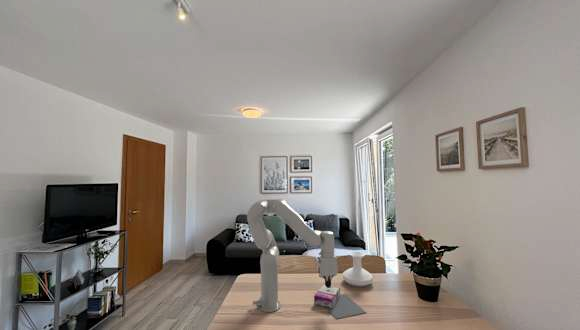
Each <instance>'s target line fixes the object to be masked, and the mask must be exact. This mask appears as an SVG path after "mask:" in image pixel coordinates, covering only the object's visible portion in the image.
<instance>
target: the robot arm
mask: <svg viewBox="0 0 580 330" xmlns="http://www.w3.org/2000/svg"><path fill="white" fill-rule="evenodd" d="M265 214H275V215H276V216H277V217H278V218H279V219H280V220H282V222H284V223H285V224H286V225H288V226H289V228H290V229H291V230H292V231H293V232H294V233H295V234H296V235H297V237H299V238H300V239H301V240H302V241H303V242H304V243H306V244H307V245H308V246H309V247H311V248H314V249H315V248H318V247H319V246H320V252H318V255H319V259H318V277H319V278H321V279H324V285H325V286H326V287H327V288H331V286H332V280H333V278H334V277H336V276H337V275H338V273H339V269H338V260H337V257H336V255H335V234H334V232H333V231H331V230H324V231H322V230H316V229H311V228H310V227H309V225H308V224H307V223H306V222H305V221H304V218H302V216H301V215H300V214H299V213H297V212H296V211H295V210H294V209H293V208H292V207H290V205H289V204H288V202H287V201H286V200H285V199H283V198H277V199H260V200H258V201H256V202H254V203H253V204H252V205H251V206H250V208H249V209H248V211H247V214H246V215H247V216H246V219H247V223H248V227H249V229H250V232H251V236H252V237H253V240H254V243H255V246H256V247H257V248H258V249H260V250H262V253H261V255H260V261H259V264H260V297H259V298H258V299H257V300H252V305H253V306H255V307H258V310H260V312H263V313H273V312H277V311H278V310H280V308H281V306H282V305H281V301H279V299H278V297H279V293H278V291H279V289H278V288H279V287H278V285H279V281H278V279H279V278H278V277H279V275H278V273H279V272H278V260H279V257H280V251H279V247H278V245H277V241H276V240H275V236H274V235H273V233H272V231H270V229H267V228H266V225H265V222H264V220H263V216H264V215H265Z"/></svg>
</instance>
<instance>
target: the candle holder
mask: <svg viewBox="0 0 580 330" xmlns="http://www.w3.org/2000/svg"><path fill="white" fill-rule="evenodd" d="M349 255H350V256H351V258H352V263H353V265H352V267H351V268H348V269H346V270H345V271H343V272H342V279H343V280H344V281H345V282H346V283H347V284H349V285H350V286H354V287H366V286H369V285H370V284H372V282H373V275H372V274H371V273H370V272H369V271H368V270H366V269H364V268H363V267H362V258H364V257H365V256H366V254H365V253H364V252H358V251H353V252H349Z"/></svg>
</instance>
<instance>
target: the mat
mask: <svg viewBox="0 0 580 330" xmlns="http://www.w3.org/2000/svg"><path fill="white" fill-rule="evenodd" d="M325 309H327V311H328V312H330V314H331V315H332V316H333V317H334V318H335V319H336V320H339V319H344V318H349V317H354V316H355V317H356V316H359V315H364V314H367V311H365V310H364V308H362V307H361V306H360V305H358V304H357V302H355V301H354V300H353V299H352V298H351V297H349V296H348V295H347V294H346V293H340V297H339V298H338V300H337V302H336V303H335V305H334V307H333V308H329V307H325Z"/></svg>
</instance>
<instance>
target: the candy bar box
mask: <svg viewBox="0 0 580 330" xmlns="http://www.w3.org/2000/svg"><path fill="white" fill-rule="evenodd" d="M340 294H341V288H340V287H336V286H333V285H331V288H327V287H326V286H325V284H322V285H321V287H320V288H319V289H318V291H316V292H315V294H314V296H313V303H314V305H316V306H320V307H325V308H326V307H329V308H333V307H334V305H335V303H336V302H337V300H338V298H339V297H340Z"/></svg>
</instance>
